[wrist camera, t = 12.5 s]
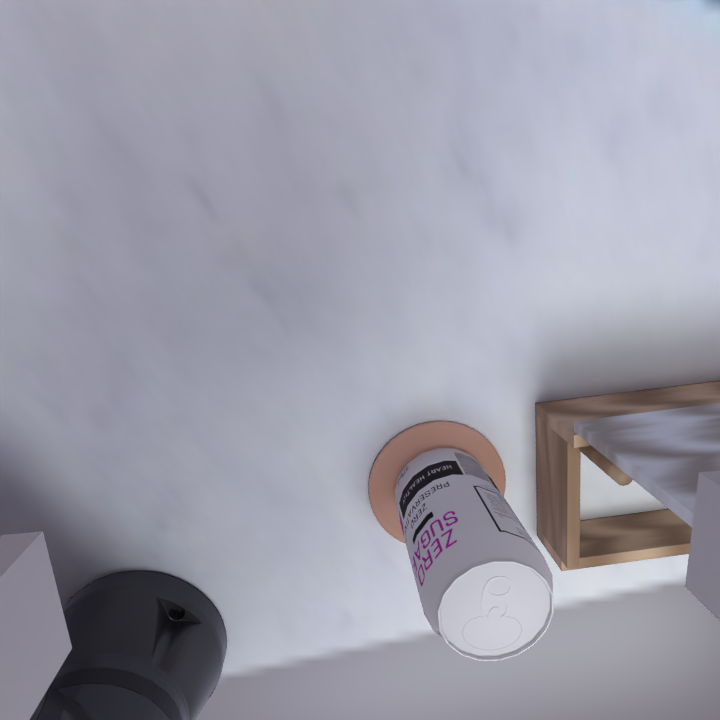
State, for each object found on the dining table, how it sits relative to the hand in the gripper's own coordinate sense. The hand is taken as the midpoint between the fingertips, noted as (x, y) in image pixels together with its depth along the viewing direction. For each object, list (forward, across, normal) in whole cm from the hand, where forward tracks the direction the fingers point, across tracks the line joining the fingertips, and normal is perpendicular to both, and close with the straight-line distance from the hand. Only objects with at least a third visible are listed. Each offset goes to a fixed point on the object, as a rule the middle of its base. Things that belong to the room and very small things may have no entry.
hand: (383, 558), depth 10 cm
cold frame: (+32, +26, -16) cm, 44 cm away
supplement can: (+31, +8, -16) cm, 36 cm away
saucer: (+32, +7, -16) cm, 36 cm away
